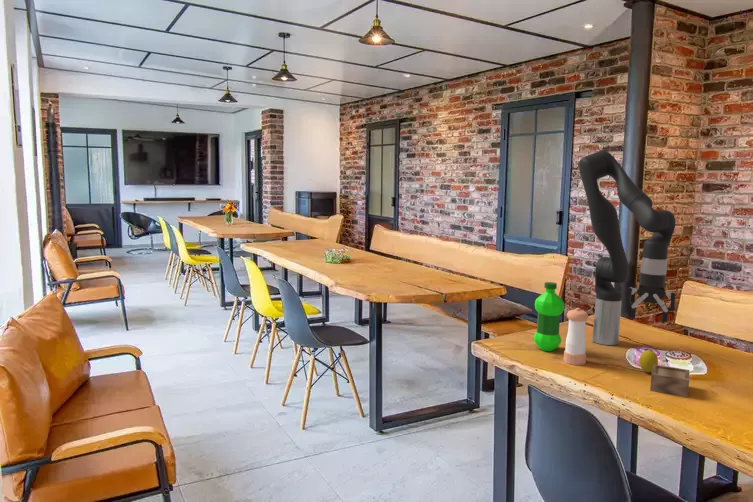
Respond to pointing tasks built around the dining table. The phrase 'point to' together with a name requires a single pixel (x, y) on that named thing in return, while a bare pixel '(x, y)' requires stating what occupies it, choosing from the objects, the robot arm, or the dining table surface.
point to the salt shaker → (576, 338)
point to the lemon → (648, 360)
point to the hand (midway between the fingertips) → (648, 320)
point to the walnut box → (670, 380)
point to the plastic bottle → (548, 318)
